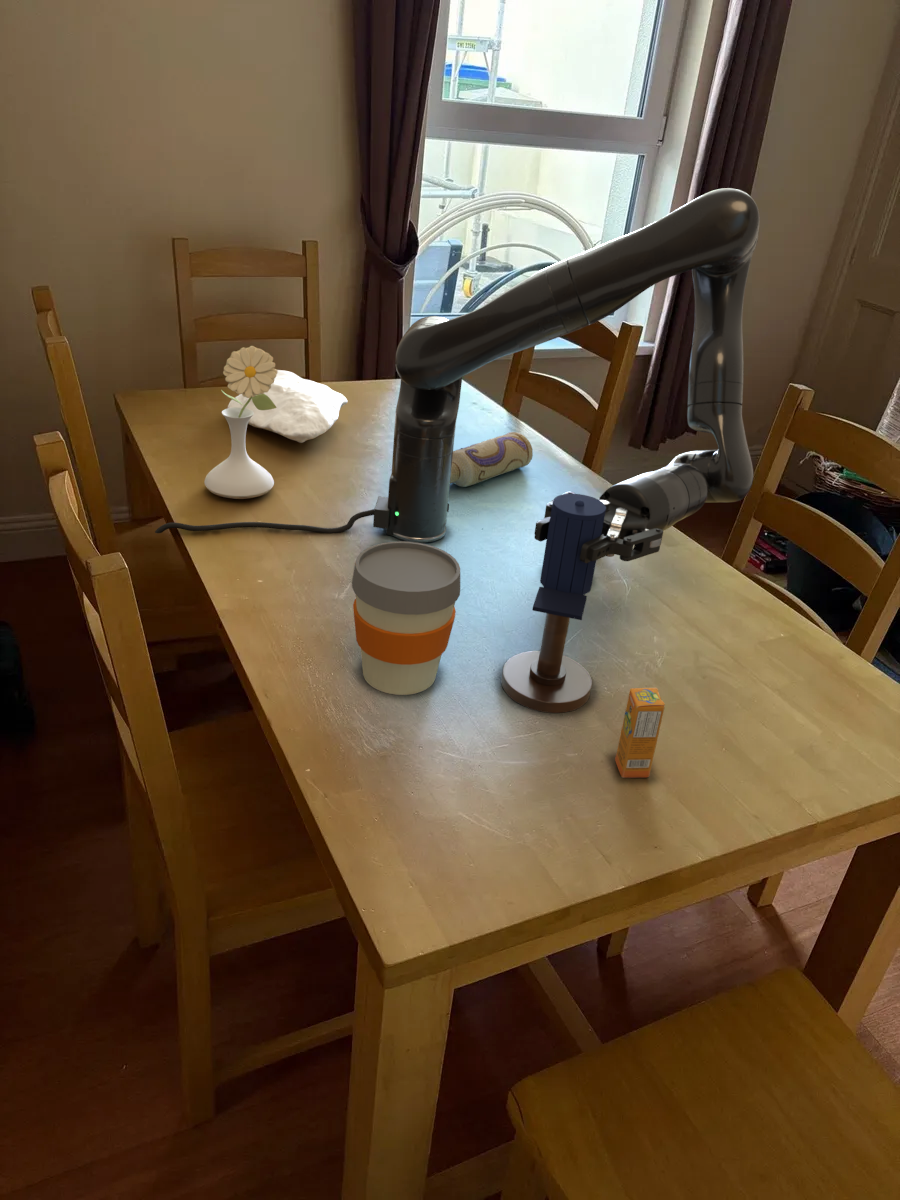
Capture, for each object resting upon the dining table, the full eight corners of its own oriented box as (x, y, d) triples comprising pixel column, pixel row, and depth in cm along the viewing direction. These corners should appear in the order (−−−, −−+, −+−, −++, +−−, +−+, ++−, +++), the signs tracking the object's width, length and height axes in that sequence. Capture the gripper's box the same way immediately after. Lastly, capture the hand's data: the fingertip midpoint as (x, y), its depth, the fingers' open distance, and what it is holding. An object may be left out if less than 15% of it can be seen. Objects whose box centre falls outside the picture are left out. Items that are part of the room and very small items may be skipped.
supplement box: (611, 758, 99) (628, 685, 94) (641, 759, 99) (660, 686, 94) (618, 779, 96) (637, 704, 91) (649, 779, 96) (669, 705, 91)
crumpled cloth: (322, 389, 197) (316, 349, 192) (384, 444, 171) (380, 399, 166) (218, 412, 189) (209, 370, 184) (266, 473, 162) (258, 426, 157)
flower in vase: (190, 495, 147) (182, 343, 135) (230, 472, 156) (225, 328, 144) (258, 513, 143) (256, 359, 131) (295, 490, 153) (296, 343, 140)
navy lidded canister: (544, 567, 105) (557, 485, 100) (593, 577, 104) (609, 494, 99) (530, 610, 96) (543, 522, 91) (583, 620, 96) (599, 532, 90)
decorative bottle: (501, 458, 175) (506, 426, 171) (531, 471, 170) (536, 438, 167) (407, 488, 158) (410, 453, 154) (438, 503, 153) (441, 467, 150)
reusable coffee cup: (413, 718, 101) (423, 605, 94) (326, 677, 107) (329, 567, 99) (469, 669, 111) (482, 563, 103) (387, 633, 116) (394, 530, 109)
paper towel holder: (500, 707, 105) (516, 597, 97) (501, 655, 114) (517, 552, 107) (593, 718, 105) (616, 609, 97) (587, 665, 114) (608, 562, 107)
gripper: (601, 458, 111) (514, 489, 100) (703, 497, 103) (620, 536, 92) (591, 513, 115) (506, 549, 104) (688, 555, 106) (607, 599, 96)
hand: (560, 543), depth 98 cm, fingers closed on navy lidded canister, 5 cm apart
